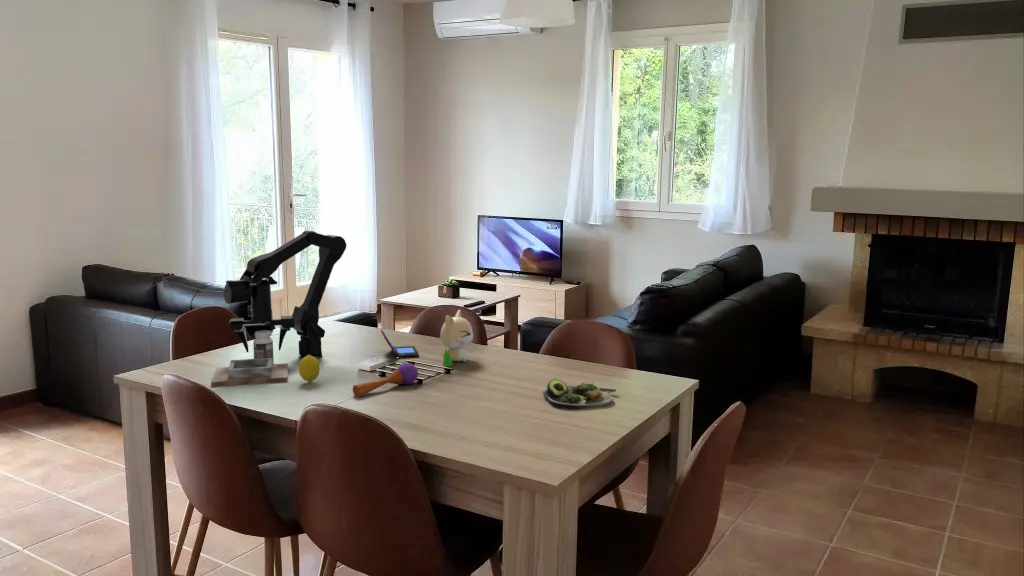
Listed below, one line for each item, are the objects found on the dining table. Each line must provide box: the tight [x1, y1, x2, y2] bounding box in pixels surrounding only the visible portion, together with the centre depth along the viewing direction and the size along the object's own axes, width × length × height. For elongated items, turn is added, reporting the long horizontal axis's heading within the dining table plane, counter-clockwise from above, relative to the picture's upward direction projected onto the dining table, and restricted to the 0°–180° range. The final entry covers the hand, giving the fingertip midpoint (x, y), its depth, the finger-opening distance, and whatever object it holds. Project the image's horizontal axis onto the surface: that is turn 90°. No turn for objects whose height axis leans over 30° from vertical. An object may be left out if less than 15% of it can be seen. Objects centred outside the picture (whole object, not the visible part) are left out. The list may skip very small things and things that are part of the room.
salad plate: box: [542, 378, 617, 410], centre depth 209 cm, size 19×18×5 cm
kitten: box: [439, 309, 475, 367], centre depth 247 cm, size 15×10×15 cm
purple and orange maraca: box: [352, 362, 419, 398], centre depth 217 cm, size 6×6×20 cm
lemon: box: [298, 355, 321, 384], centre depth 223 cm, size 6×6×8 cm
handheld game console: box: [380, 329, 420, 359], centre depth 256 cm, size 12×11×7 cm
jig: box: [210, 358, 289, 387], centre depth 229 cm, size 20×16×4 cm
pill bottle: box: [252, 329, 275, 364], centre depth 243 cm, size 6×6×10 cm
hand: (263, 351), depth 243 cm, fingers open, 9 cm apart
